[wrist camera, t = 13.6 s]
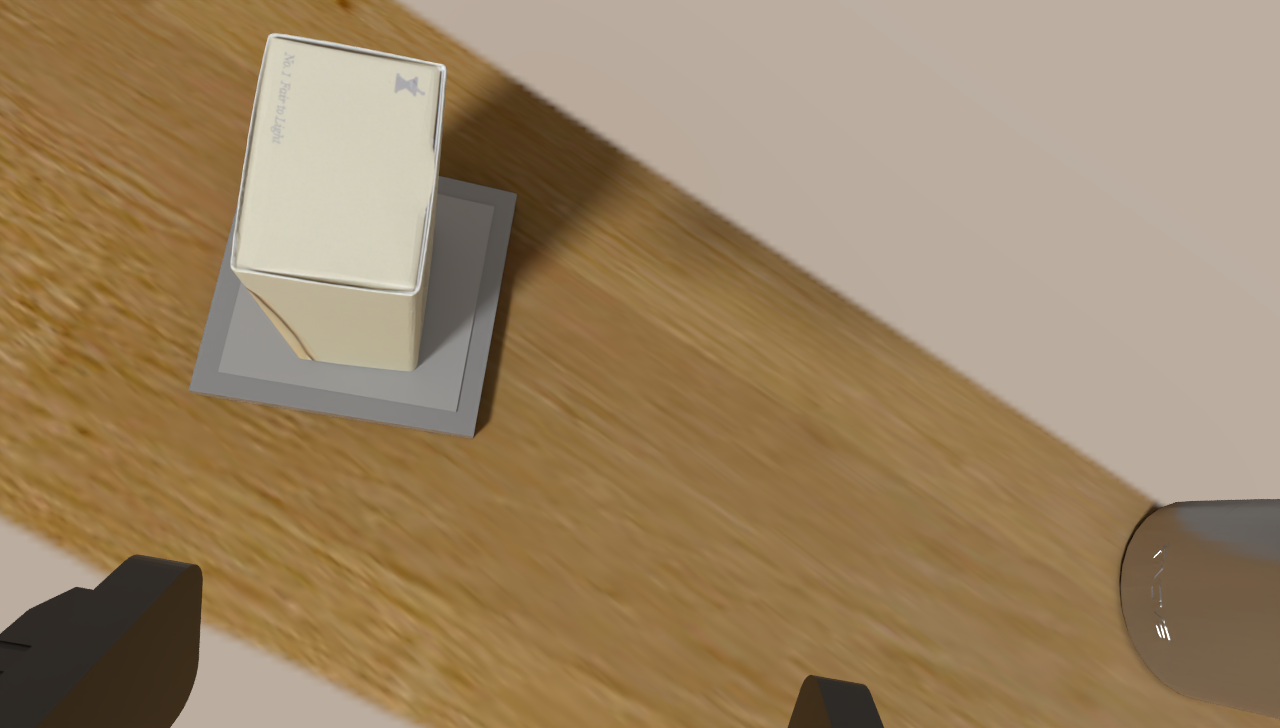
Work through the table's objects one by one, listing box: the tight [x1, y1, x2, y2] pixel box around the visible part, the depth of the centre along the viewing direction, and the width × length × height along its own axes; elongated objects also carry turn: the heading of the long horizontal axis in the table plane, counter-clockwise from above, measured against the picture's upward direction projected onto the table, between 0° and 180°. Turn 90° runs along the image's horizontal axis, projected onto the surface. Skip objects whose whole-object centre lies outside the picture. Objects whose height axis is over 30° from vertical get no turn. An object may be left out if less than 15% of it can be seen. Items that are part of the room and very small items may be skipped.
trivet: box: [189, 176, 517, 439], centre depth 31 cm, size 10×10×1 cm
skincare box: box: [231, 33, 447, 372], centre depth 25 cm, size 6×4×12 cm
